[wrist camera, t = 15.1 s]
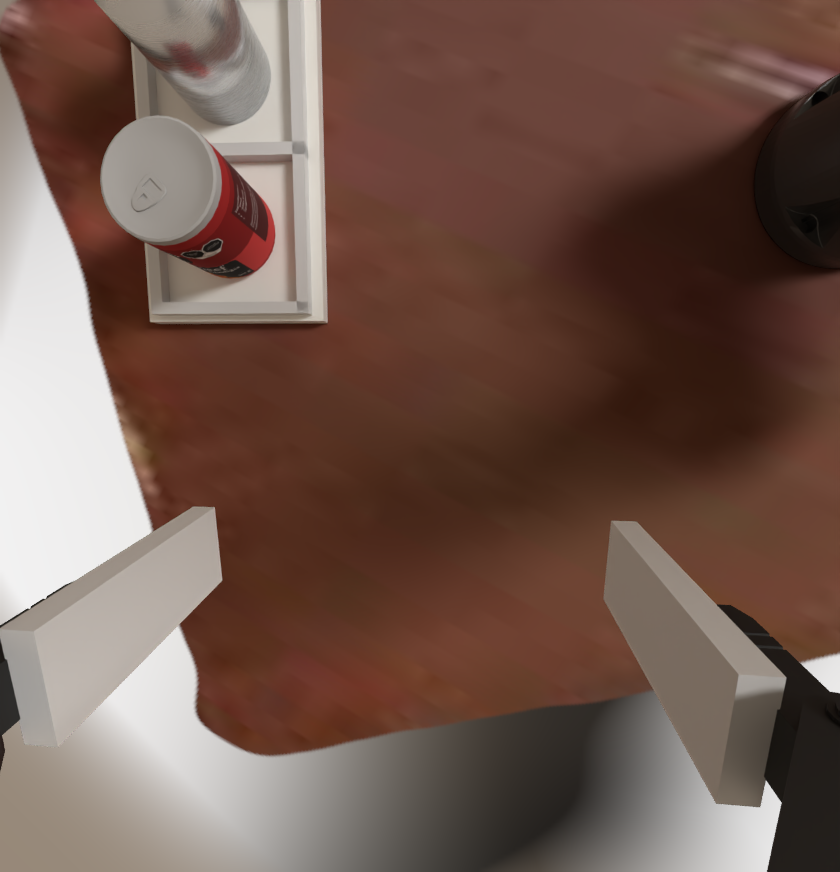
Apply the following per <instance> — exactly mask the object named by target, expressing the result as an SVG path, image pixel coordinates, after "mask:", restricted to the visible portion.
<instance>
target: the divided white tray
mask: <svg viewBox="0 0 840 872" xmlns="http://www.w3.org/2000/svg"><path fill="white" fill-rule="evenodd" d="M239 1H240V3H241V5H242V7H243V9H244V11H245V13H246V15H247V17H248V19H249V21H250V23H251V24H252V26H253V28H254V30H255V32H256V34H257V36H258V38H259V40H260V42H261V44H262V46H263V48H264V50H265V52H266V54H267V56H268V59H269V63H270V69H271V83H270V88H269V92H268V95H267V97H266V100H265V102H264V103H263V105H262V106H261V108H260V109H259V110H258V111H257V112H256V113H255V114H254V115H253V116H252V117H251V118H249V119H247V120H246V121H244V122H241V123H239V124H235V125H217V124H213V123H211V122H208V121H206V120H204V119H203V118H201V117H200V116H198V115H197V114H196V113H195V112H194V111H193V110H192V109H191V108H190V106H189V105H188V104H187V103H186V102H185V101H184V100H183V99H182V98H181V96H180V95H179V94H178V93H177V92H176V91H175V90H174V89H173V88H172V86H171V85H170V84H169V83H168V82H167V81H166V80H165V79H164V78H163V76H162V75H161V74H160V73H159V72H158V71H157V70H156V69H155V68H154V66H153V65H152V64H151V63H150V62H149V61H148V60H147V59H146V58H145V56H144V55H143V54H142V53H141V52H140V51H139V50H138V49H137V48H136V46H135V45H134V44H133V43H132V42H131V51H132V65H133V80H134V95H135V109H136V120H138V119H141V118H143V117H148V116H155V115H160V116H169V117H172V118H176V119H179V120H181V121H183V122H185V123H186V124H188V125H190V126H191V127H192V128H193V129H195V130H196V131H198V132H199V133H200V134H201V135H202V136H203V137H204V138H205V139H206V140H207V141H208V142H209V143H210V144H211V145H212V146H213V147H214V148H215V149H216V150H217V151H218V152H219V153H220V154H221V155H222V156H223V157H224V158H225V159H226V160H227V161H228V163H229V164H230V165H231V166H232V167H233V168H234V169H235V170H236V171H237V172H238V173H239V174H240V175H241V176H242V177H243V178H244V180H245V181H246V182H247V183H248V184H249V185H250V186H251V187H252V188H253V189H254V190H255V191H256V192H257V193H258V194H259V196H260V197H261V198H262V199H263V200H264V201H265V203H266V204H267V205H268V207H269V209H270V211H271V213H272V217H273V220H274V225H275V244H274V247H273V251H272V253H271V255H270V257H269V259H268V260H267V261H266V263H265V264H264V265H263V266H262V267H261V268H260V269H259V270H257V271H256V272H254V273H252V274H251V275H248V276H245V277H241V278H232V279H229V278H221V277H218V276H214V275H212V274H210V273H208V272H206V271H204V270H202V269H199V268H197V267H195V266H193V265H191V264H189V263H187V262H185V261H182V260H180V259H178V258H176V257H174V256H172V255H170V254H168V253H165V252H163V251H161V250H159V249H157V248H155V247H153V246H151V245H149V244H147V243H145V256H146V271H147V285H148V300H149V315H150V322H153V323H158V324H260V323H328V315H327V271H326V227H325V182H324V138H323V94H322V50H321V6H320V0H239Z"/></svg>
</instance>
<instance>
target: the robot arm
mask: <svg viewBox="0 0 840 872" xmlns="http://www.w3.org/2000/svg"><path fill="white" fill-rule="evenodd" d="M755 200H756V205H757V209H758V213H759V216H760V218H761V221H762V223H763V225H764V227H765V229H766V231H767V232H768V234H769V235H770V237H771V238H772V239H773V240H774V242H775V243H776V244H777V245H778V246H779V247H780V248H781V249H782V250H784V251H785V252H786V253H788V254H789V255H791V256H792V257H794V258H796V259H797V260H800V261H802V262H804V263H807V264H810V265H813V266H817V267H823V268H840V73H839V74H838V75H836V76H834V77H832V78H830V79H828V80H827V81H825V82H824V83H822V84H820V85H819V86H818V87H816V88H815V89H814V90H812V91H811V92H810V93H809V94H807V95H806V96H805V97H803V98H802V99H801V100H800V101H798V102H797V103H796V104H795V105H793V106H792V107H791V108H790V109H789V110H788V111H787V112H786V113H785V114H784V115H783V116H782V117H781V118H780V119H779V121H778V122H777V123H776V125H775V126H774V127H773V129H772V130H771V132H770V134H769V135H768V137H767V139H766V141H765V143H764V145H763V148H762V150H761V153H760V156H759V159H758V163H757V167H756V173H755ZM221 581H222V572H221V563H220V553H219V544H218V534H217V524H216V515H215V507H192V508H190V509H189V510H187V511H186V512H184V513H182V514H181V515H179V516H178V517H176V518H174V519H173V520H171V521H170V522H168V523H166V524H165V525H163V526H162V527H160V528H158V529H157V530H155V531H154V532H152V533H150V534H149V535H147V536H146V537H144V538H143V539H141V540H139V541H138V542H136V543H135V544H133V545H131V546H130V547H128V548H127V549H125V550H123V551H122V552H120V553H119V554H117V555H115V556H114V557H112V558H111V559H109V560H107V561H106V562H104V563H103V564H101V565H100V566H98V567H96V568H95V569H93V570H92V571H90V572H88V573H87V574H85V575H84V576H82V577H80V578H79V579H77V580H76V581H74V582H71V583H69V584H66V585H65V586H63V587H61V588H60V589H58V590H56V591H55V592H53V593H52V594H50V595H48V596H47V598H46V599H42V600H40V601H39V602H37V603H36V604H34V605H32V606H31V609H26V610H24V611H23V612H21V613H20V614H18V615H16V616H15V617H13V618H12V619H10V620H8V621H7V622H5V623H4V624H2V625H0V770H1V766H2V761H3V756H4V753H5V748H4V742H3V738H2V735H3V734H4V733H5V732H6V731H7V730H8V729H10V728H11V727H12V726H13V725H14V724H15V723H17V722H18V721H19V723H20V727H21V732H22V736H23V740H24V744H25V745H36V746H48V747H59V746H60V745H61V744H62V743H63V742H64V741H65V740H66V739H67V738H68V737H69V736H70V735H71V734H72V732H74V731H75V729H76V728H78V727H79V725H80V724H81V723H82V722H83V721H84V720H85V719H86V718H87V717H88V716H89V715H90V714H91V713H92V712H93V711H94V710H95V709H96V708H97V707H98V706H99V705H100V704H101V703H102V702H103V701H104V700H105V699H106V698H107V697H108V696H109V695H110V694H111V693H112V692H113V691H114V690H115V689H116V688H117V687H118V686H119V685H120V684H121V683H122V682H123V681H124V680H125V679H126V678H127V677H128V676H129V675H130V674H131V673H132V672H133V671H134V670H135V669H136V668H137V667H138V666H139V664H141V663H142V662H143V660H144V659H145V658H146V657H147V656H148V655H149V654H150V653H151V652H152V651H153V650H154V649H155V648H156V647H157V646H158V645H159V644H160V643H161V642H162V641H163V640H164V639H165V638H166V637H167V636H168V635H169V634H170V633H171V632H172V631H173V630H174V629H175V628H176V627H177V626H178V625H179V624H180V623H181V622H182V621H183V620H184V619H185V618H186V617H187V616H188V615H189V614H190V613H191V612H192V611H193V610H194V609H195V608H196V607H197V606H198V605H199V604H200V603H201V602H202V601H203V600H204V599H205V598H206V597H207V596H208V595H209V594H210V592H211V591H212V590H213V589H214V588H215V587H216V586H217V585H218V584H219V583H220V582H221ZM604 601H605V603H606V604H607V606H608V608H609V610H610V612H611V613H612V615H613V617H614V619H615V621H616V623H617V624H618V626H619V628H620V630H621V632H622V633H623V635H624V637H625V639H626V641H627V643H628V644H629V646H630V648H631V650H632V652H633V653H634V655H635V657H636V659H637V661H638V663H639V664H640V666H641V668H642V670H643V672H644V673H645V675H646V677H647V679H648V681H649V682H650V684H651V686H652V688H653V690H654V692H655V693H656V695H657V697H658V699H659V701H660V702H661V704H662V706H663V708H664V710H665V712H666V713H667V715H668V717H669V719H670V721H671V722H672V724H673V726H674V728H675V730H676V731H677V733H678V735H679V737H680V739H681V741H682V742H683V744H684V746H685V748H686V750H687V752H688V753H689V755H690V757H691V759H692V760H693V762H694V764H695V766H696V768H697V770H698V771H699V773H700V775H701V777H702V779H703V781H704V782H705V784H706V786H707V788H708V790H709V791H710V793H711V795H712V797H713V799H714V801H715V802H716V804H728V805H740V806H753V807H760V806H761V800H762V796H763V790H764V786H765V781H767V782H768V783H769V785H770V786H771V788H772V789H773V791H774V792H775V794H776V795H777V796H778V798H779V799H780V801H781V802H782V804H781V809H780V814H779V818H778V823H777V827H776V832H775V837H774V842H773V846H772V851H771V856H770V860H769V865H768V870H767V872H840V693H835V692H829V691H828V690H827V689H826V688H825V687H824V686H823V685H822V684H821V683H820V682H819V681H818V680H817V679H816V678H815V677H814V676H813V675H812V674H811V673H810V672H809V671H808V670H807V669H805V668H804V667H803V666H802V665H801V664H800V663H799V662H798V661H797V660H796V659H795V658H794V657H793V656H792V655H791V654H790V653H789V652H788V651H787V650H783V647H782V646H781V645H780V644H779V643H778V642H777V641H776V640H775V639H774V638H773V637H770V636H769V633H768V632H767V631H766V630H765V629H764V628H763V627H762V626H760V625H759V624H758V623H757V622H756V621H755V620H754V619H753V618H751V617H750V616H748V615H746V614H745V613H743V612H741V611H740V610H738V609H736V608H735V607H733V606H731V605H717V604H715V603H714V602H713V601H712V600H711V599H710V598H709V597H708V596H707V594H706V593H705V592H704V591H703V590H702V589H701V588H700V587H699V586H698V585H697V584H696V583H695V582H694V581H693V580H692V579H691V578H690V577H689V576H688V575H687V574H686V573H685V572H684V571H683V570H682V569H681V567H680V566H679V565H678V564H677V563H676V562H675V561H674V560H673V559H672V558H671V557H670V556H669V555H668V554H667V553H666V552H665V551H664V550H663V549H662V548H661V547H660V546H659V545H658V544H657V543H656V542H655V541H654V539H653V538H652V537H651V536H650V535H649V534H648V533H647V532H646V531H645V530H644V529H643V528H642V527H641V526H640V525H639V524H638V523H637V522H633V521H611V528H610V538H609V549H608V559H607V569H606V579H605V589H604Z"/></svg>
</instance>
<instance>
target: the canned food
mask: <svg viewBox="0 0 840 872" xmlns="http://www.w3.org/2000/svg"><path fill="white" fill-rule="evenodd" d="M100 183H101V191H102V195H103V198H104V202H105V205H106V207H107V208H108V210H109V212H110V214H111V216H112V217H113V218H114V220H115V221H116V222H117V223H118V225H120V226H121V227H122V228H123V229H124V230H126V231H127V232H128V233H130V234H131V235H132V236H134V237H136V238H138V239H139V240H141V241H143V242H145V243H147V244H149V245H151V246H153V247H155V248H157V249H159V250H161V251H163V252H165V253H168V254H170V255H172V256H174V257H176V258H178V259H180V260H182V261H185V262H187V263H189V264H191V265H193V266H195V267H197V268H199V269H202V270H204V271H206V272H208V273H210V274H212V275H214V276H218V277H221V278H229V279H232V278H241V277H245V276H248V275H251V274H252V273H254V272H256V271H257V270H259V269H260V268H261V267H262V266H263V265H264V264H265V263H266V261H267V260H268V259H269V257H270V255H271V253H272V251H273V247H274V244H275V225H274V220H273V217H272V213H271V211H270V209H269V207H268V205H267V204H266V203H265V201H264V200H263V199H262V198H261V197H260V196H259V194H258V193H257V192H256V191H255V190H254V189H253V188H252V187H251V186H250V185H249V184H248V183H247V182H246V181H245V180H244V178H243V177H242V176H241V175H240V174H239V173H238V172H237V171H236V170H235V169H234V168H233V167H232V166H231V165H230V164H229V163H228V161H227V160H226V159H225V158H224V157H223V156H222V155H221V154H220V153H219V152H218V151H217V150H216V149H215V148H214V147H213V146H212V145H211V144H210V143H209V142H208V141H207V140H206V139H205V138H204V137H203V136H202V135H201V134H200V133H199V132H198V131H196V130H195V129H193V128H192V127H191V126H190V125H188V124H186V123H185V122H183V121H181V120H179V119H176V118H172V117H169V116H160V115H155V116H148V117H143V118H141V119H138V120H135V121H133V122H132V123H130V124H128V125H127V126H125V127H124V128H123V129H122V130H121V131H120V132H119V133H118V134H117V135H116V136H115V137H114V139H113V140H112V141H111V143H110V144H109V146H108V148H107V150H106V153H105V155H104V158H103V162H102V166H101V176H100Z"/></svg>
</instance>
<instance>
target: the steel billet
mask: <svg viewBox="0 0 840 872" xmlns="http://www.w3.org/2000/svg"><path fill="white" fill-rule="evenodd" d="M94 1H95V2H96V3H97V4H98V5H99V6H100V8H101V9H102V10H103V11H104V12H105V13H106V14H107V15H108V16H109V18H110V19H111V20H112V21H113V22H114V23H115V24H116V25H117V26H118V28H119V29H120V30H121V31H122V32H123V33H124V34H125V35H126V36H127V38H128V39H129V40H130V41H131V42H132V43H133V44H134V45H135V46H136V48H137V49H138V50H139V51H140V52H141V53H142V54H143V55H144V56H145V58H146V59H147V60H148V61H149V62H150V63H151V64H152V65H153V66H154V68H155V69H156V70H157V71H158V72H159V73H160V74H161V75H162V76H163V78H164V79H165V80H166V81H167V82H168V83H169V84H170V85H171V86H172V88H173V89H174V90H175V91H176V92H177V93H178V94H179V95H180V96H181V98H182V99H183V100H184V101H185V102H186V103H187V104H188V105H189V106H190V108H191V109H192V110H193V111H194V112H195V113H196V114H197V115H198V116H200V117H201V118H203V119H204V120H206V121H208V122H211V123H213V124H217V125H235V124H239V123H241V122H244V121H246V120H247V119H249V118H251V117H252V116H253V115H254V114H255V113H256V112H257V111H258V110H259V109H260V108H261V106H262V105H263V103H264V102H265V100H266V97H267V95H268V92H269V88H270V83H271V69H270V63H269V59H268V56H267V54H266V52H265V50H264V48H263V46H262V44H261V42H260V40H259V38H258V36H257V34H256V32H255V30H254V28H253V26H252V24H251V23H250V21H249V19H248V17H247V15H246V13H245V11H244V9H243V7H242V5H241V3H240V1H239V0H94Z"/></svg>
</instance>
